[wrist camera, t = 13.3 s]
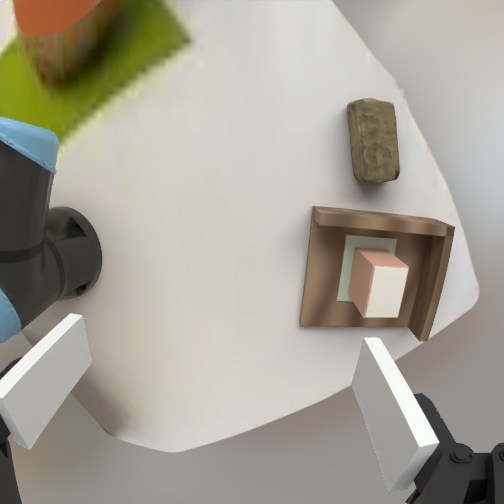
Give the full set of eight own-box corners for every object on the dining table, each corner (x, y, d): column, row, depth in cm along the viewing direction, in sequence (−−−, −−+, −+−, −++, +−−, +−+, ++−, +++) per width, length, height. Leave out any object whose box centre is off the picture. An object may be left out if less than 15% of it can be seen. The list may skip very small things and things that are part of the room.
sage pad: (336, 300, 46) (336, 300, 45) (346, 234, 43) (346, 235, 43) (384, 301, 46) (385, 302, 45) (396, 238, 43) (396, 239, 43)
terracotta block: (354, 247, 43) (373, 265, 35) (386, 249, 43) (409, 267, 35) (347, 293, 45) (363, 318, 37) (378, 293, 45) (398, 318, 37)
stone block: (352, 182, 42) (363, 184, 37) (343, 102, 39) (353, 95, 34) (389, 179, 42) (403, 182, 37) (380, 102, 39) (394, 96, 34)
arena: (299, 322, 48) (304, 343, 42) (312, 206, 43) (320, 212, 37) (412, 323, 48) (427, 341, 42) (434, 218, 43) (454, 227, 37)
